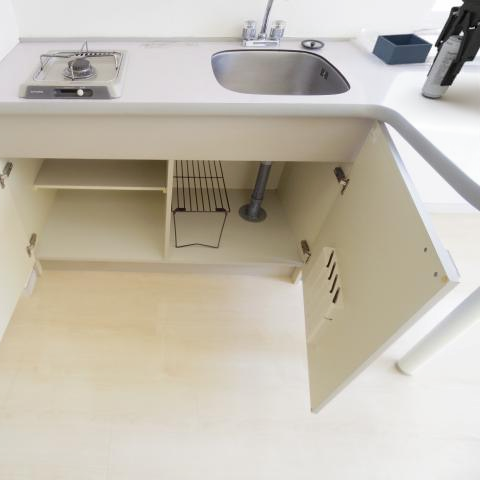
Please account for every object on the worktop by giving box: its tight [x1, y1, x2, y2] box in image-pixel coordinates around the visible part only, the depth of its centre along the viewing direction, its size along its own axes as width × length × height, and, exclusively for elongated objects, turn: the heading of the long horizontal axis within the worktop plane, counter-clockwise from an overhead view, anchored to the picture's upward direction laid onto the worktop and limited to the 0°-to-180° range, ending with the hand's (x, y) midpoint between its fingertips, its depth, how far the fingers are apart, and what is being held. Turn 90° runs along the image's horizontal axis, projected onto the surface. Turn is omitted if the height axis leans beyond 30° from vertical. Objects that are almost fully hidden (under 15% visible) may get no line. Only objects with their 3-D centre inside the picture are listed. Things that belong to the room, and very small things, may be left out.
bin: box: [372, 33, 434, 65], centre depth 123 cm, size 13×13×6 cm
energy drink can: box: [421, 34, 463, 99], centre depth 97 cm, size 6×6×15 cm
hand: (438, 80), depth 100 cm, fingers closed on energy drink can, 6 cm apart
